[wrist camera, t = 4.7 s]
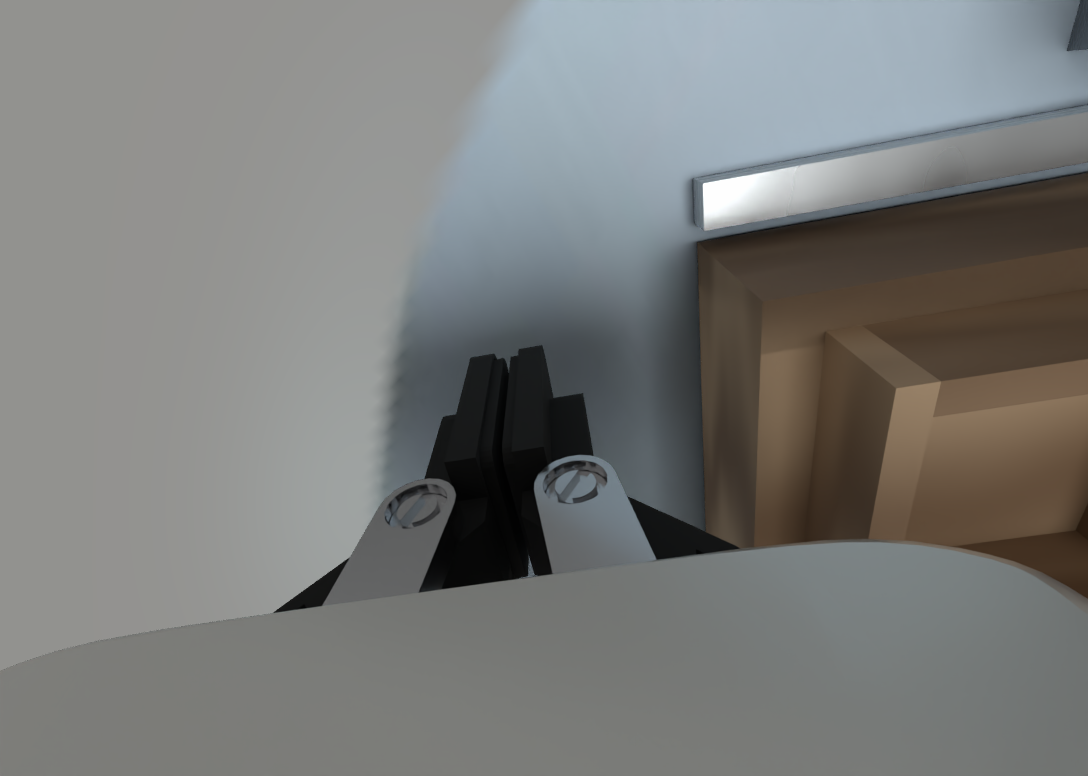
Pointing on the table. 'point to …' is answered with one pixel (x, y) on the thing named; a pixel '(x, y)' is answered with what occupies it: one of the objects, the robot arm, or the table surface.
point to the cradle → (905, 378)
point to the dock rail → (893, 169)
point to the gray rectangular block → (1080, 29)
